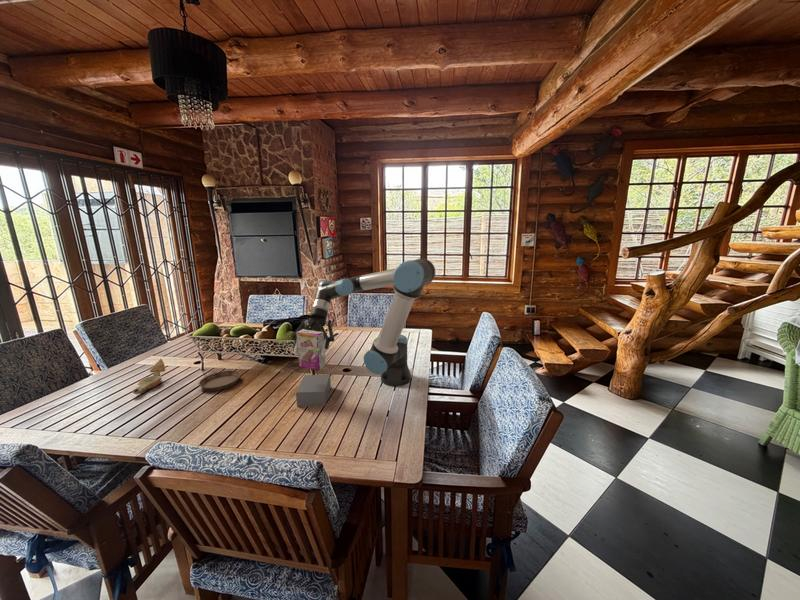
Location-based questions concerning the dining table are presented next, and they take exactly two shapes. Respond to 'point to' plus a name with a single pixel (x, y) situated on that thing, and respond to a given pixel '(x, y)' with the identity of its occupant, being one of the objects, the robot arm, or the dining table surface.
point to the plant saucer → (219, 380)
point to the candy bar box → (310, 349)
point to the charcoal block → (313, 390)
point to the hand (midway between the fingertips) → (308, 354)
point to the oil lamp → (151, 378)
